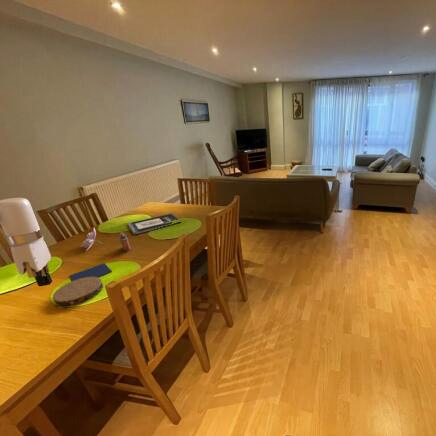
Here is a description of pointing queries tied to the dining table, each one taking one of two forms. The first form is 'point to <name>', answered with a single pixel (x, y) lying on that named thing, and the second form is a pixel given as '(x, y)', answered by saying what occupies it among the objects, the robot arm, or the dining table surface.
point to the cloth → (92, 272)
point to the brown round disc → (78, 291)
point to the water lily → (90, 239)
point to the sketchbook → (151, 223)
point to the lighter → (125, 242)
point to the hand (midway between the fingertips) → (45, 284)
